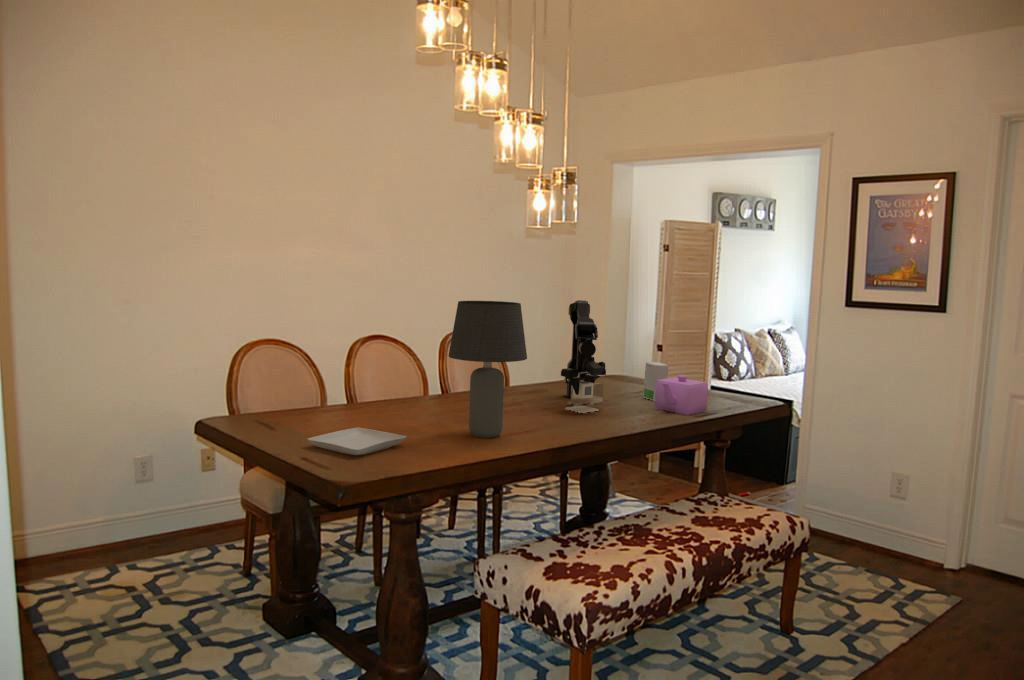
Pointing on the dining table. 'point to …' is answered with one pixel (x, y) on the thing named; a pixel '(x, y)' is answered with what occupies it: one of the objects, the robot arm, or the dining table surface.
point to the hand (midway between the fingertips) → (582, 394)
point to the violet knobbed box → (681, 395)
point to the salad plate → (357, 441)
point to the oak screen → (595, 399)
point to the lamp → (487, 356)
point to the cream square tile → (582, 409)
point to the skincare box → (653, 378)
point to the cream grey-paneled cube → (584, 390)
